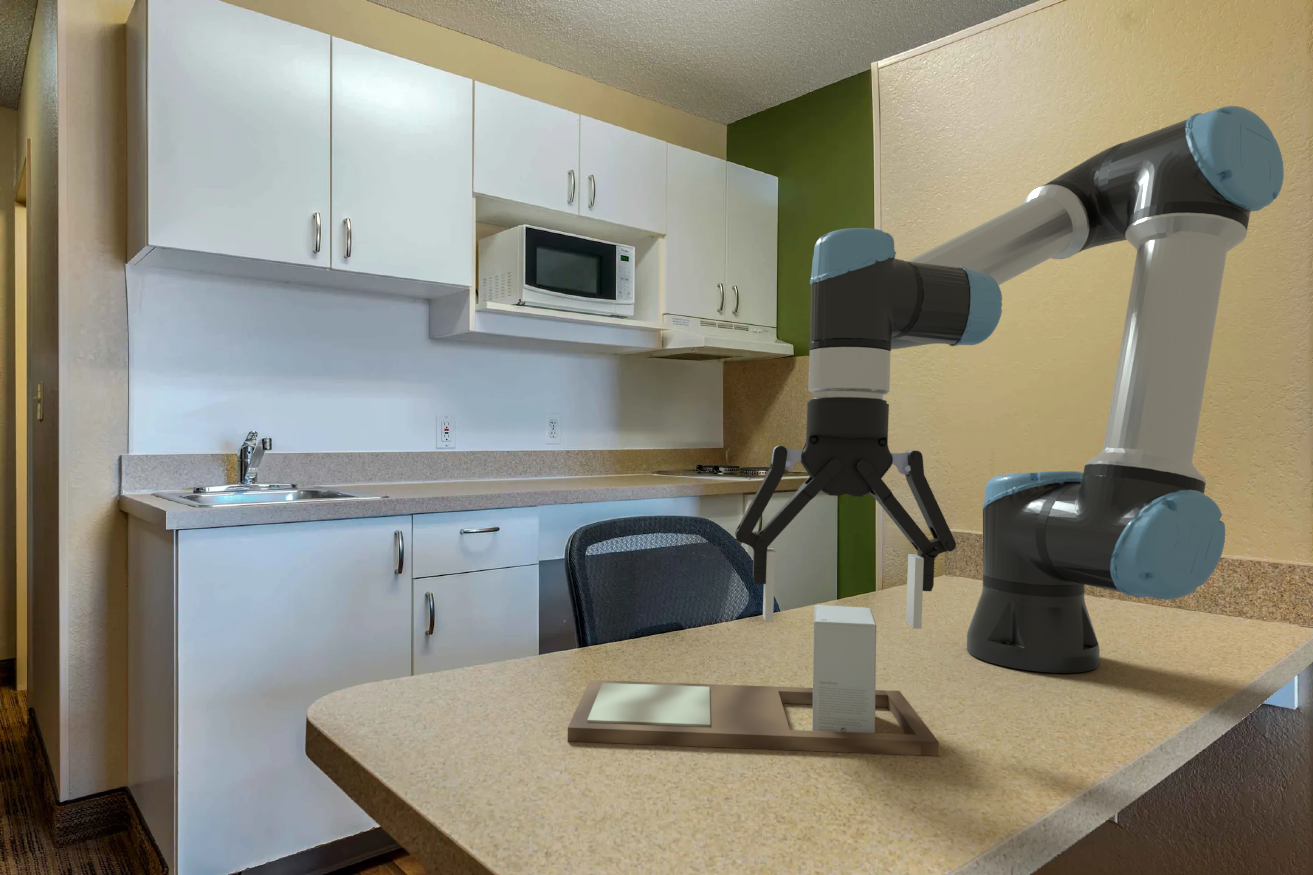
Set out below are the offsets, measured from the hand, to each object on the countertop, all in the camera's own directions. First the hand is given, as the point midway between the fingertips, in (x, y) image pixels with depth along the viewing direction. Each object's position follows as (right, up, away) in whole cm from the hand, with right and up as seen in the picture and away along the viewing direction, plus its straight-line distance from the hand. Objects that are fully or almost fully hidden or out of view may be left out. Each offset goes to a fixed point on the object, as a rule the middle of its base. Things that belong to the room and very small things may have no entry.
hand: (840, 622), depth 77 cm
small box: (0, -10, 0) cm, 10 cm away
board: (-9, -10, +1) cm, 13 cm away
